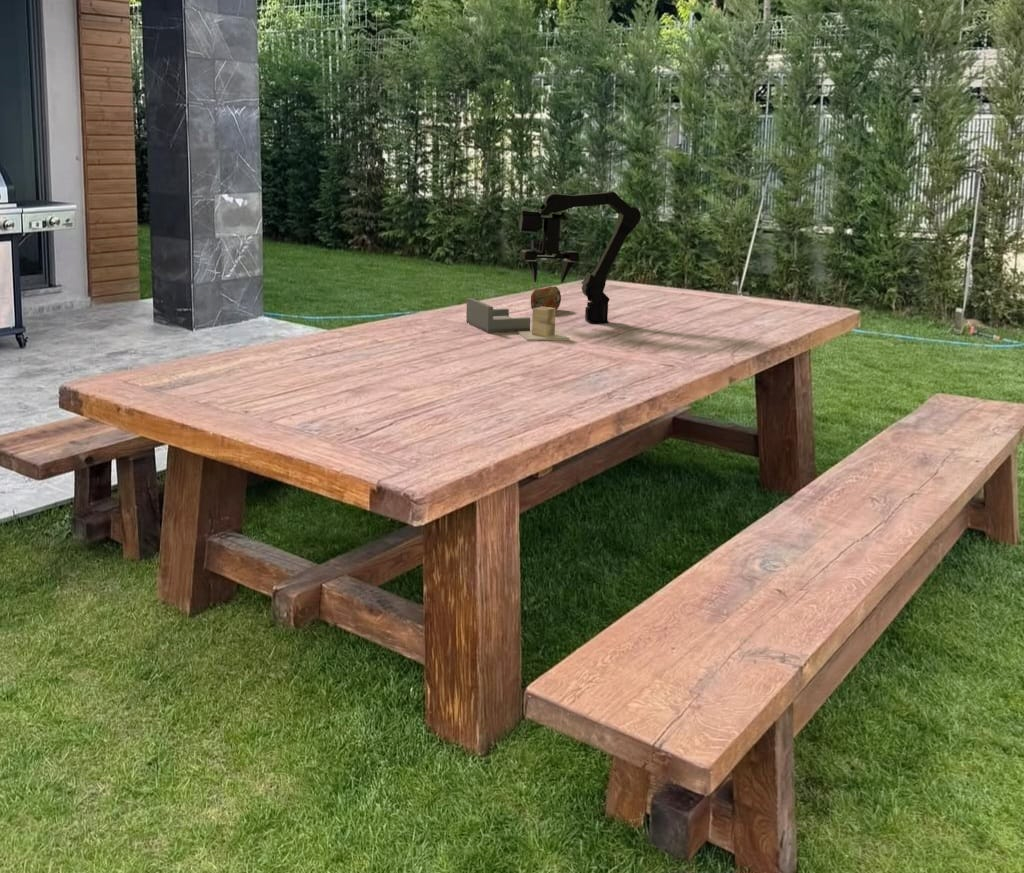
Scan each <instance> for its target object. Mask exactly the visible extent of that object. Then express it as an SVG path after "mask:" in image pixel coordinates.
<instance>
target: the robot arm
mask: <svg viewBox="0 0 1024 873" xmlns="http://www.w3.org/2000/svg"><path fill="white" fill-rule="evenodd" d="M603 205H608V206H610V207H611V209H613V211H614V212H615V213H616V214H618V215H617V219H616V221H615V222H616V224H615V228H614V232H613V234H612V235H611V238H610V240H609V242H608V243H607V245H606V247H605V250H604V251H603V253H602V255H601V258H600V259H599V261H598V263H597V265H596V267H595V269H594V270H593V271H592V272H591V273H590V272H589V271H587V272H586V274H585V277H584V279H583V281H581V284H582V285H581V291H582V293H583V295H584V296H585V297H586V298H587V302H586V304H587V305H586V307H585V310H584V311H585V314H584V317H585V318H584V319H585V321H586V322H588V323H589V322H590V323H589V324H600V323H599V322H603V323H602V324H608V322H609V323H610V321H609V320H608V318H609V302H610V297H608V295H607V294H605V293H604V289H605V287H606V282H607V278H608V275H609V273H610V270H611V268H612V267H613V264H614V262H616V261H615V260H616V259H617V256H618V255H619V253H620V251H621V249H622V247H623V245H624V242H625V241H626V239H627V237H628V236H629V235H630V234H631V232H632V231H633V230H634V229H635V228H636V227H637V225H638V224H639V223H640V221H641V218H642V214H641V212H640V210H639V208H637V207H635V206H631V205H630V204H628V202H627V201H625V200H624V199H623V198H621V197H620V196H619V195H618V194H617V192H615V191H611V190H609V191H605V192H593V193H584V194H583V193H582V194H579V193H578V194H567V193H556V192H551V193H547V194H546V195H545V197H544V199H543V202H542V205H541V206H540V207H539V208H538V209H537V210H536V211H533V210H527V209H526V210H525V209H521V213H520V217H519V221H518V222H519V223H518V224H519V225H518V226H519V232H520V233H530V234H531V233H535V234H538V233H539V231H541V230H542V235H540V240H539V239H538V238H532V239H531V241H530V249H521V250H520V252H519V258H520V259H522V260H523V261H524V262H526V263H527V265H528V267H529V270H530V272H531V276H532V279H533V283H536V282H537V280H538V279H537V277H538V263H539V262H538V261H537V259H558V260H559V259H561V273H560V283H561V284H564V282H565V279H566V277H567V276H568V274H569V272H570V270H571V268H572V267H573V265H576V264H577V262H580V261H581V254H580V252H578V251H575V250H563V252H561V250H560V248H561V247H560V246H561V243H560V242H562V237H561V231H562V220H563V221H568V219H569V217H567V216H566V214H565V212H564V211H567V210H569V209H573V208H579V207H580V208H581V207H590V206H603ZM559 212H560V213H559ZM548 215H549V216H548Z"/></svg>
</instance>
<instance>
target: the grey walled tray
mask: <svg viewBox="0 0 1024 873" xmlns="http://www.w3.org/2000/svg"><path fill="white" fill-rule="evenodd" d="M509 315H510V309H509V308H494V306H492V305H490V304H487V303H485V302H482V301H480V300H477V299H476V298H473V297H466V322H467V323H466V322H465V323H466V324H468V323H469V324H468V325H470V326H473V327H474V328H476V329H479V330H480V329H481V330H480V331H483V332H485V333H486V334H498V333H499V334H500V333H518V331H531V317H528V316H527V317H511V316H509Z"/></svg>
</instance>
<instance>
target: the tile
mask: <svg viewBox="0 0 1024 873" xmlns="http://www.w3.org/2000/svg"><path fill="white" fill-rule="evenodd" d="M517 334H518V335H519V334H520V336H521V337H522V338H523V339H524V338H525V339H524V340H525V341H527V342H539V341H538V340H553V341H570V339H571V338H570V337H569V336H567V335H566V334H565V333H563V332H562V331H560V330H556V329H555V334H554V335H551V336H547V337H544V336H537V335H532V330H530V331H518V332H517Z"/></svg>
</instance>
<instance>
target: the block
mask: <svg viewBox="0 0 1024 873" xmlns="http://www.w3.org/2000/svg"><path fill="white" fill-rule="evenodd" d="M555 309H556V308H550V307H537V308H533V310H532V320H531V321H532V322H531V324H532V325H531V326H532V327H531V331H532V335H537V336H544V337H547V336H551V335H554V334H555V331H556V310H555Z"/></svg>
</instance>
